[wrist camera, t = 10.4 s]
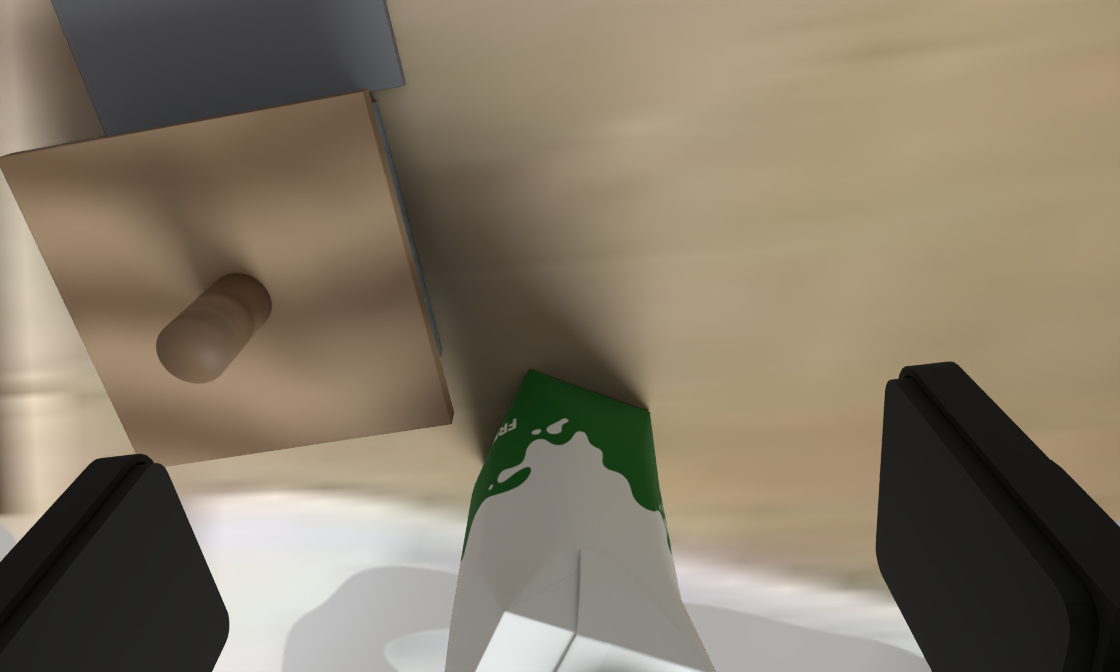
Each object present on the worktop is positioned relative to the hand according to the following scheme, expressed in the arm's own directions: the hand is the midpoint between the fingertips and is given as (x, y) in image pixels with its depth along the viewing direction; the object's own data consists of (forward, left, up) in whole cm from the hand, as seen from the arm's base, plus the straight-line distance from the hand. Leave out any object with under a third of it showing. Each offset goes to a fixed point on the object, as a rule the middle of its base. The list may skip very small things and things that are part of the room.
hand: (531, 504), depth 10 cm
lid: (+4, -14, -24) cm, 28 cm away
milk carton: (+17, -2, -29) cm, 34 cm away
